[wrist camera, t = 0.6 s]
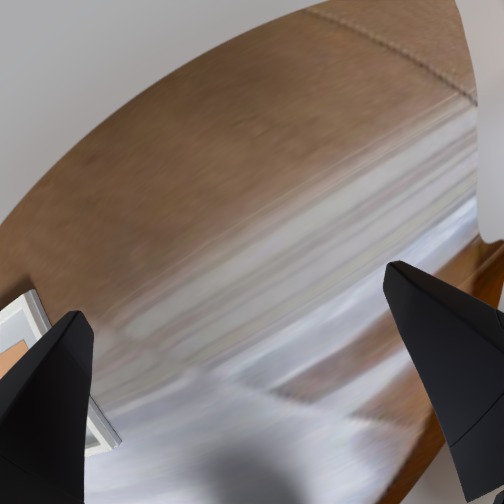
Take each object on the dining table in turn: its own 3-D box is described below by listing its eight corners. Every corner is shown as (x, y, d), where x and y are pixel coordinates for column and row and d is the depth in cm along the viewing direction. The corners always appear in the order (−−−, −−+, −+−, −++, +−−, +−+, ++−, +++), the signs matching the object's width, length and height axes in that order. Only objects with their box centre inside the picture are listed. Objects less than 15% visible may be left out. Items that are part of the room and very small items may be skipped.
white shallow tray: (121, 441, 22) (115, 451, 20) (31, 463, 21) (24, 470, 19) (35, 289, 22) (23, 290, 20) (-37, 345, 21) (-46, 347, 19)
